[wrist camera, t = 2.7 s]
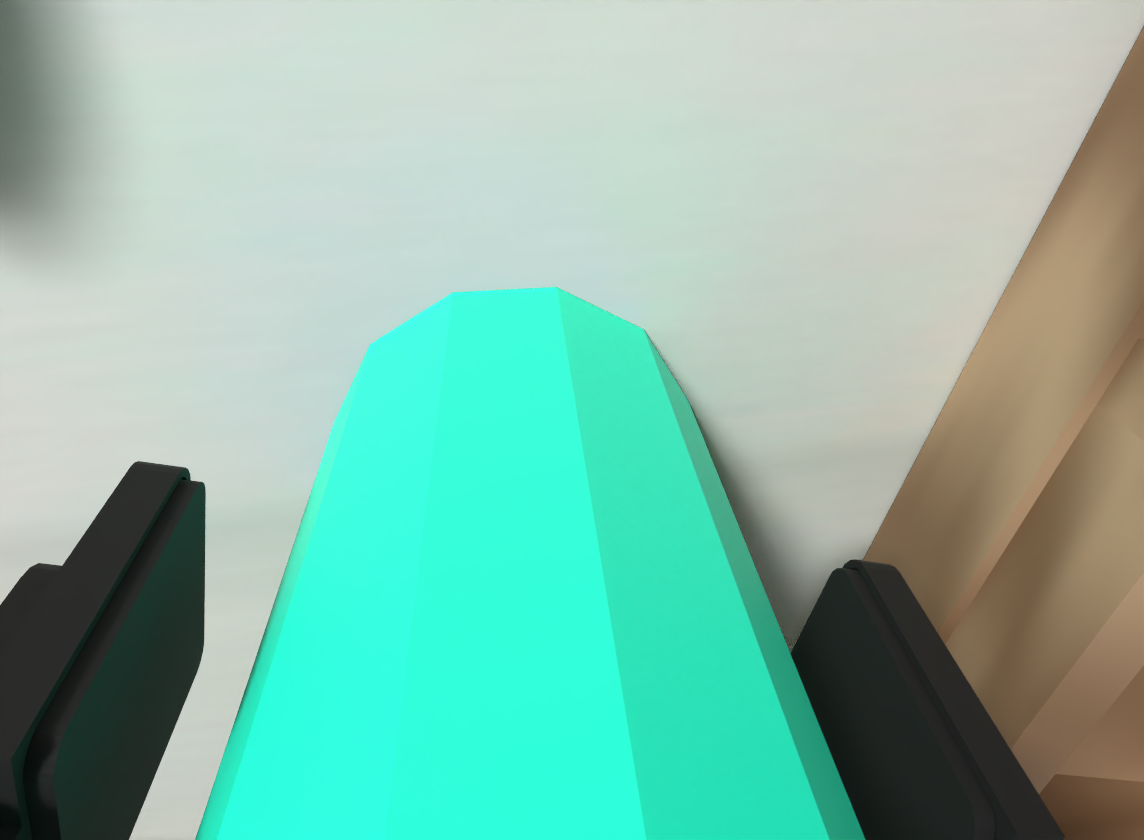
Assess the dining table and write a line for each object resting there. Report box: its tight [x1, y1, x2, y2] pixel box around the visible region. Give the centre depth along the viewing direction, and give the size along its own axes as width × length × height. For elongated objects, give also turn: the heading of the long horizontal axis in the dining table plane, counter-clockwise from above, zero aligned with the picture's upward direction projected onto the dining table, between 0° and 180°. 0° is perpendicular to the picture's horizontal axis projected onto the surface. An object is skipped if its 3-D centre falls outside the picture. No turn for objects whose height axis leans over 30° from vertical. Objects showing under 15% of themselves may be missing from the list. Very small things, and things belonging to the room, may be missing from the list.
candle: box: [195, 287, 865, 840], centre depth 9 cm, size 6×6×12 cm
